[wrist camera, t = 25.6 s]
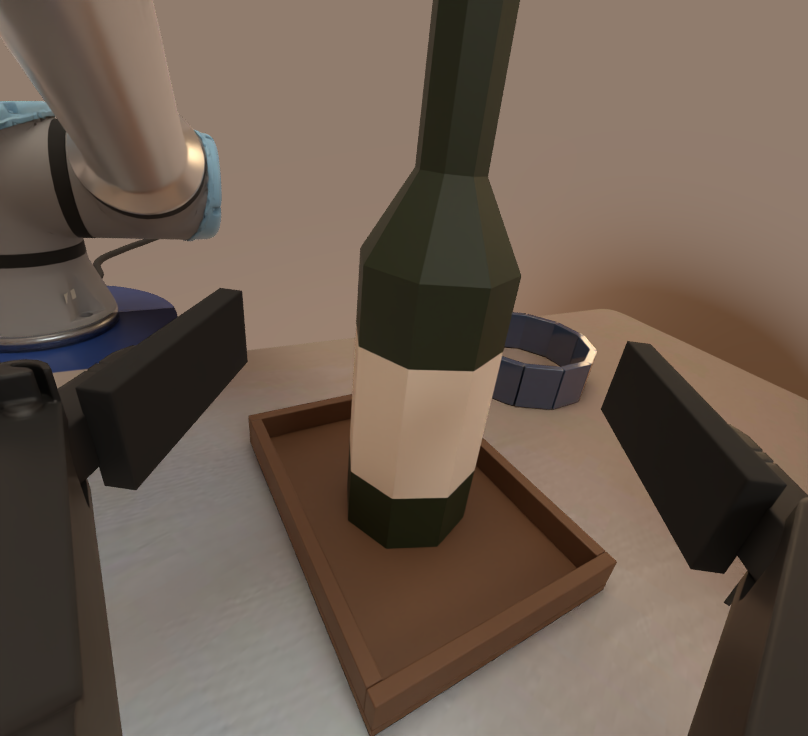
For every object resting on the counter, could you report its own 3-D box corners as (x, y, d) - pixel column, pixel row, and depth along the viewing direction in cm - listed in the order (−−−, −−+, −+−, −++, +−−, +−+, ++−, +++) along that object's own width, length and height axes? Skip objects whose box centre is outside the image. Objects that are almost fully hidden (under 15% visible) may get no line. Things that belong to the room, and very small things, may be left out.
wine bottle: (322, 529, 27) (337, -180, 13) (366, 449, 34) (408, -63, 20) (453, 569, 26) (637, -183, 11) (471, 476, 33) (597, -56, 18)
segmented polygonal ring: (428, 353, 52) (434, 318, 49) (519, 337, 59) (527, 306, 56) (512, 421, 41) (524, 380, 39) (610, 392, 48) (624, 356, 46)
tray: (250, 442, 34) (247, 415, 33) (416, 402, 42) (420, 379, 41) (370, 738, 19) (375, 708, 17) (603, 589, 26) (617, 561, 25)
